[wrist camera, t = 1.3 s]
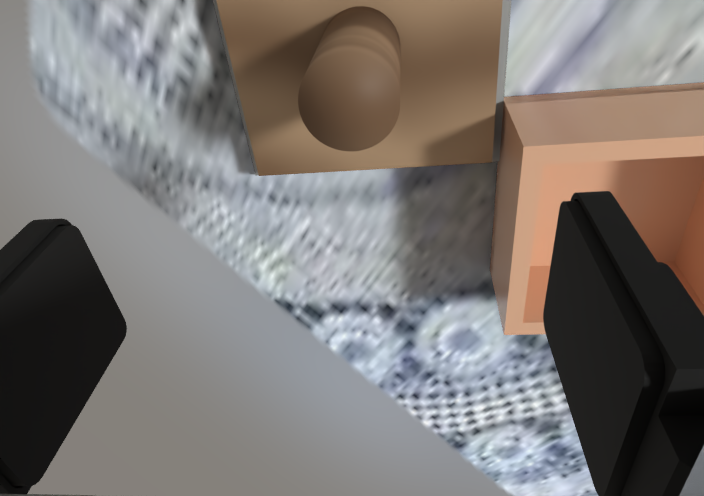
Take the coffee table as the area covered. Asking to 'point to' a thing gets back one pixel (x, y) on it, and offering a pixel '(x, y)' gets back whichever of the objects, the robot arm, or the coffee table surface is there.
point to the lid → (365, 81)
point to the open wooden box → (596, 183)
